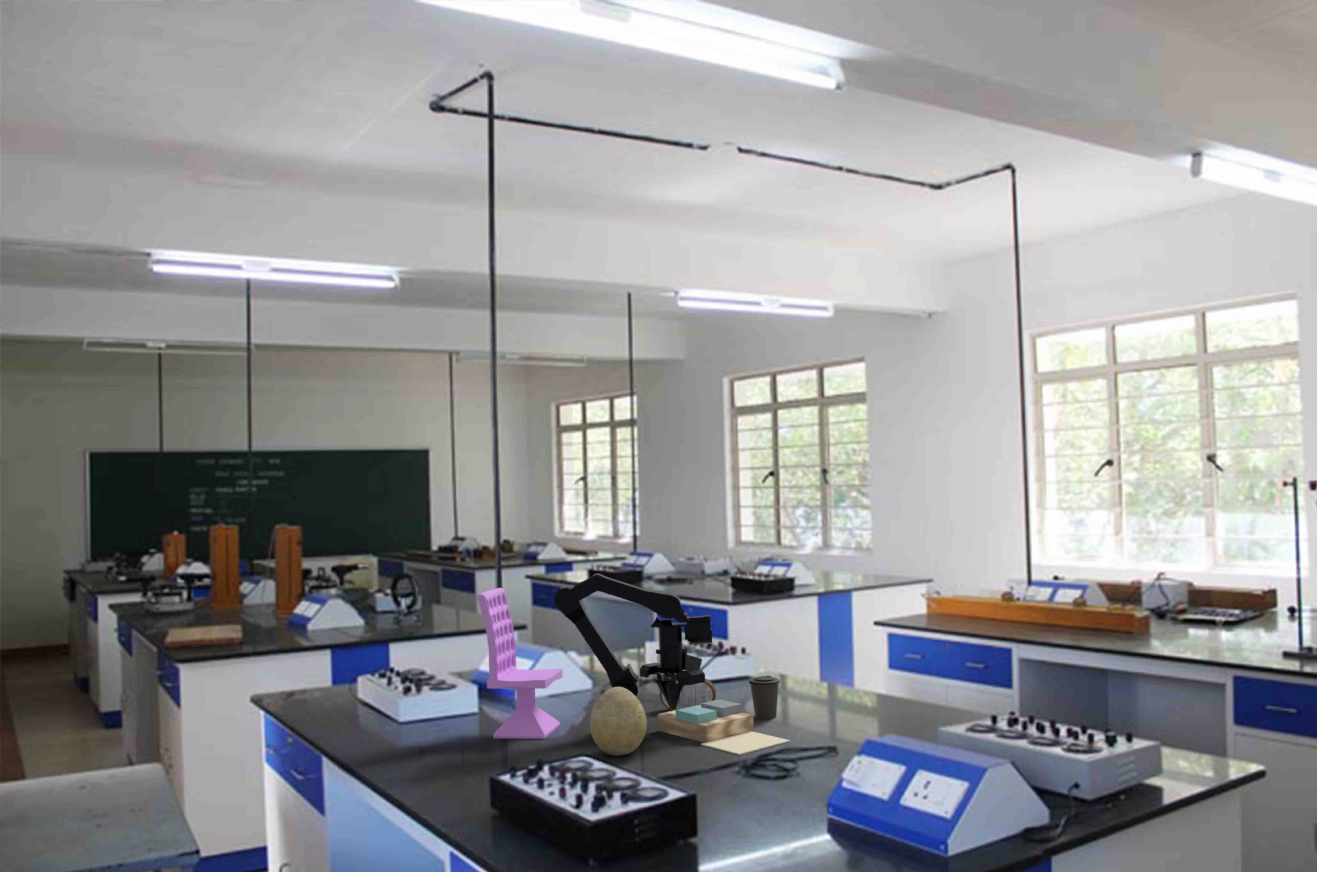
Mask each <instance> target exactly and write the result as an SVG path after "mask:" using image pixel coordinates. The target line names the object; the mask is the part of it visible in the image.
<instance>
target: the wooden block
mask: <svg viewBox="0 0 1317 872" xmlns="http://www.w3.org/2000/svg"><path fill="white" fill-rule="evenodd" d="M697 707H701V705H697ZM754 728H755V727H754V714H751V713H746V712H741V713H737V714H732V715H728V716H724V717H723V716H719V715H717V719H716V720H712V721H708V722H703V723H699V724H697V723H693V722H688V721H684V720H680V719H676V710H674V711H673V710H669V711H667V712H666V711H665V712H660V713H658V714H657V731H658V732H661V733H666V734H669V735H674V736H677V737H681V738H685V739H689V740H693V741H697V742H701V743H706V742H710V741H714V740H718V739H722V738H726V737H730V736H734V735H738V734H742V733H746V732H750V731H752V732H755V731H754V730H755V729H754Z"/></svg>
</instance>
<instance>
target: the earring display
mask: <svg viewBox="0 0 1317 872" xmlns="http://www.w3.org/2000/svg"><path fill="white" fill-rule="evenodd" d="M476 596H477V597H476V599H477V601H478V605H479V608H480V609H479V610H480V612H481V615H482V618H483V623H484V628H485V633H486V638H487V639H486V640H487V645H488V646H487V647H488V669H489V670H488V672H489V673H488V674H489V675H488V679H486V689H491V690H492V689H494V690H495V689H496V690H497V689H507V690H508V689H509V690H516V707H517V708H516V710H515V711H514V712H513V713H512V714H511V715H510V716H509V717H508V718H507V719H506V720H505V721H504V722H503V723H502V724H501V725H500V727H498V728H497V730H496V731H494V733H493V734H492V735H493V739H494V740H497V739H499V740H500V739H502V740H506V739H507V740H509V739H510V740H512V739H514V740H524V739H525V740H545V739H547V737H549V736H550V735H551V734H552V733H554V732H555V731H556V730H557V729H558V728H560V727H559V726H561V725H560V724H561V723H560V721H559V720H557V718H554V717H553V716H552V715H550V714H548V713H547V712H546V711H544V710H543V709H541V708H539V707H538V706H537V705H536V689H537V690H538V689H539V690H540V689H543V690H544V689H547V688H549V686H551V685H552V683H554V682H555V681H557V680H561V679H562V678H563V668H548V669H522V668H521V669H520V668H518V669H517V654H516V652H517V650H516V639H515V638H516V637H515V631H514V630H515V629H514V624H513V618H512V614H511V611H510V606H509V602H508V598H507V594H506V591H505V589H504V588H502V587H496V588H494V589H489V590H486V591H483V592H481V593H478V594H477V595H476Z"/></svg>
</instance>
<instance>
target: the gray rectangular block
mask: <svg viewBox="0 0 1317 872" xmlns="http://www.w3.org/2000/svg"><path fill="white" fill-rule="evenodd" d="M701 707H702V708H706V709H711V710H715V711H717V715H719V716H723V717H724V716H728V715H732V714H737V713H741V712H742V710H743V709H742V703H738V702H735V701H733V702H732V701H728V700H723V699H715V700H714V701H710V702H705V703H701ZM742 713H743V712H742Z"/></svg>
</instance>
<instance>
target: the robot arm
mask: <svg viewBox="0 0 1317 872" xmlns="http://www.w3.org/2000/svg"><path fill="white" fill-rule="evenodd" d="M597 592H600V593H604V594H607V595H609V596H613V597H616V598H619V599H623V600H626V601H628V602H632V603H635V604H638V605H641V606H642V607H645V608H646V609H648V610H650V611H651V612H653V613H655V614H657V615H659V616H661V617H663V619H661V618H660V617H659V616H656V617H655V619H654V620H653V621H652V622H651V623H650V628H651V629H652V628H654V629H655V628H658V646H659V647H658V648H659V649H655V654H656V655H659V662H652V663H651V662H650V663H646V664H642V665H641V666H640V668H639V675H638V674H636V672H635V671H634V669H633V667H632V665H631V664H630V663H628V664H627V665H626V666H625V665H623V663H621V662H620V660H619V659H618V658H617V656H616V655H615V653H614V652H613V650H612V649H611V647H610V645H609V644H608V643H607V641H606V640H605V638H604V636H603V635H602V633H601V632H600V631H599V629H598V628H597V626H596V625H595V622H594V621H593V620H592V618H591V617H590V616H589V614H588V611H587V609H586V606H585V603H584V601H583V600H584V599H586V598H588V597H589V596H591V595H593V594H594V593H597ZM553 604H554V605H555V607H556V609H558V611H559V612H560V613H561V614H562V615H563V616H564V617H566V618H567V619H568V620H569V621H570V622H571V623H573V625H575V627H576V629H577V631H579V633H580V635H581V636H582V638H583V639H584V641H585V642H586V644H587V645H588V646H589V648H590V650H591V652H593V654H594V656H595V657H596V658H597V661H598V662H599V663H600V665H601V666H602V668H603V669H604V670H605V672H606V675H607V677H608V681H609V683H610V686H611V688H613V687H623V688H626V689H627V690H629V691H631V692H632V693H633V694H634V695H635V696H636V697H637V696H638V693H639V689H640V682H639V677H641V678H646V679H647V678H649V677H650V676H651V675H656V679H655V680H654V684H656V685H657V687H658V688H659V691H660V690H661V692H662V693H663V695H664V697H665V699H666V701H667V703H668V705H669V707H670V709H672V710H671V711H673V710H674V709H676V707H677V703H678V700H679V696H680V693H681V691H682V688H683V687H684V686H685V685H693V684H698V683H703V682H705V679H706V673H705V672H704V671H703V670H701V666H702V662H703V658H700V657H697V656H695V655H694V656H693V655H691V654H688V649H687V648H686V647H685V648H684V647H683V628H682V627H684V641H687V642H689V645H705V644H713V629H712V625H711V624H712V621H711V615H708V614H707V615H701V616H689V615H688V612H686V611H685V610H684V609H683V607H682V603H681V599H680V597H679V595H677V594H676V593H674V592H669V591H662V590H654V589H653V590H652V589H645V588H642V587H639V586H636V585H633V584H630V583H627V582H624V581H620V580H617V579H614V578H612V577H608V576H605V575H603V574H601V573H594V574H593V575H592V576H590V577H589V578H586V579H585V580H583V581H581V582H578V583H577V584H574V585H568V584H567V585H564V586H562V587H560V588H559V589H558V590H557V591H556V593H555V594H554V597H553ZM664 618H665V619H664ZM673 619H674V620H675V621H677V622H673Z"/></svg>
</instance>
